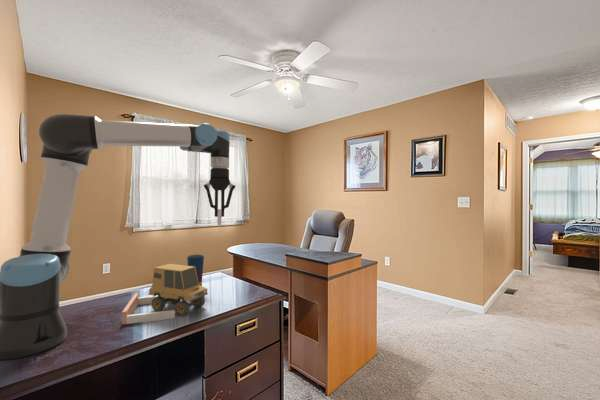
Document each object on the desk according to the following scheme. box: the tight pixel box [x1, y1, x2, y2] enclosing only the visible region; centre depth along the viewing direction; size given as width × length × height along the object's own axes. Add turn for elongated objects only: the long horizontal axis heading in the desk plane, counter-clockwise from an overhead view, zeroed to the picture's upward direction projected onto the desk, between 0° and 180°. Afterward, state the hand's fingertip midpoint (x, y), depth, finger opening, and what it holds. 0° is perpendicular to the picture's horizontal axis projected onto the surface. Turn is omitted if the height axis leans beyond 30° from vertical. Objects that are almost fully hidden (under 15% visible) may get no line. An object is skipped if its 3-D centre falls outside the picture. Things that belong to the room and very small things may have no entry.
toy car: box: [148, 263, 209, 317], centre depth 101 cm, size 10×19×15 cm, turn 69°
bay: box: [121, 292, 176, 325], centre depth 99 cm, size 15×18×4 cm
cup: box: [186, 254, 205, 287], centre depth 122 cm, size 7×7×15 cm
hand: (219, 224), depth 117 cm, fingers closed
